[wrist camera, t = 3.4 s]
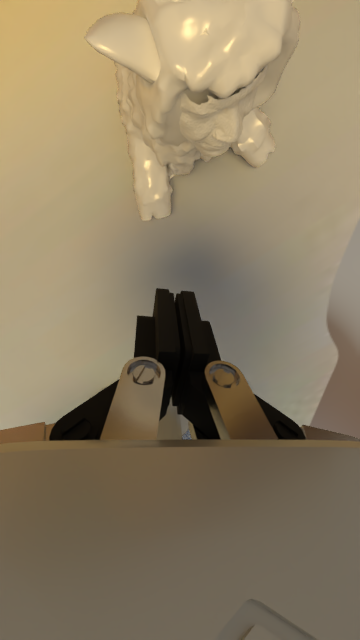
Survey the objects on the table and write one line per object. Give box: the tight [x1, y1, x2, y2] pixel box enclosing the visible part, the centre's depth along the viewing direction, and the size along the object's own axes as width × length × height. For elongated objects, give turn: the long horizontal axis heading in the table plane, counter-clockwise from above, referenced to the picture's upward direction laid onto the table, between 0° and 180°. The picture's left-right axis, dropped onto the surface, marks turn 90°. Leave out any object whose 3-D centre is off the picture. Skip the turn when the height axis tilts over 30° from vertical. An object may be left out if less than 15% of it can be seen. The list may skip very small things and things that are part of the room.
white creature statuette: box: [84, 0, 300, 221], centre depth 11 cm, size 10×9×12 cm
